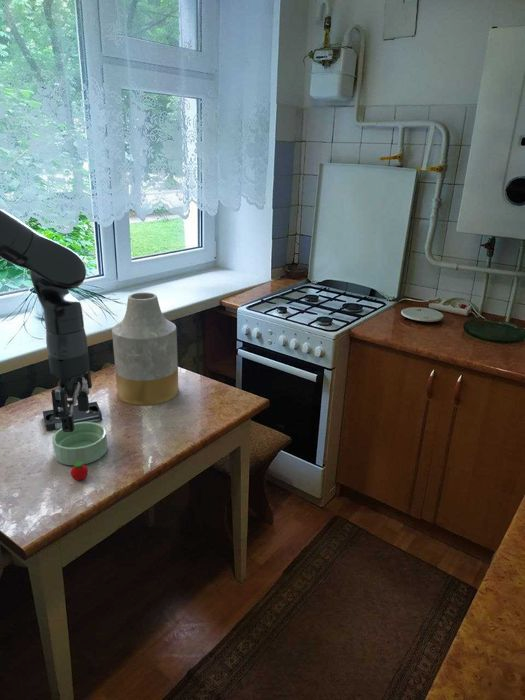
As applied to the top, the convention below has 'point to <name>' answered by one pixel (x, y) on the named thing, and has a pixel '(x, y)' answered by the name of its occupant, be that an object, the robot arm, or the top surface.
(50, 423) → the vhs tape
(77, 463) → the strawberry
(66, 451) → the bowl
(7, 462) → the top surface
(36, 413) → the top surface
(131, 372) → the vase
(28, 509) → the top surface
